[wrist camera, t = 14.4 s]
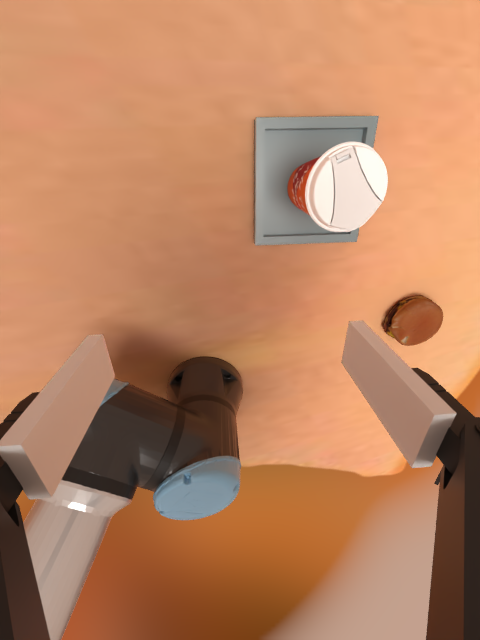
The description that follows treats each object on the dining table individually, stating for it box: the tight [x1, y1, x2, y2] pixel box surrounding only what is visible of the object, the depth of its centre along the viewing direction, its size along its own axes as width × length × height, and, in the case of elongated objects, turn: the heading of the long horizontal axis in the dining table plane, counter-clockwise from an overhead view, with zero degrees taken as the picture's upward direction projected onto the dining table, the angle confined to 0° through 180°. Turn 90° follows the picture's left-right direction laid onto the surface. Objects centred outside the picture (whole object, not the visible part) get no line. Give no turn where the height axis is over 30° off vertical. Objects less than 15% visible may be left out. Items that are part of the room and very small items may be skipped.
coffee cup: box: [287, 142, 388, 232], centre depth 33 cm, size 8×8×15 cm
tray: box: [254, 116, 379, 245], centre depth 39 cm, size 16×16×2 cm
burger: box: [383, 296, 443, 346], centre depth 50 cm, size 10×9×5 cm
